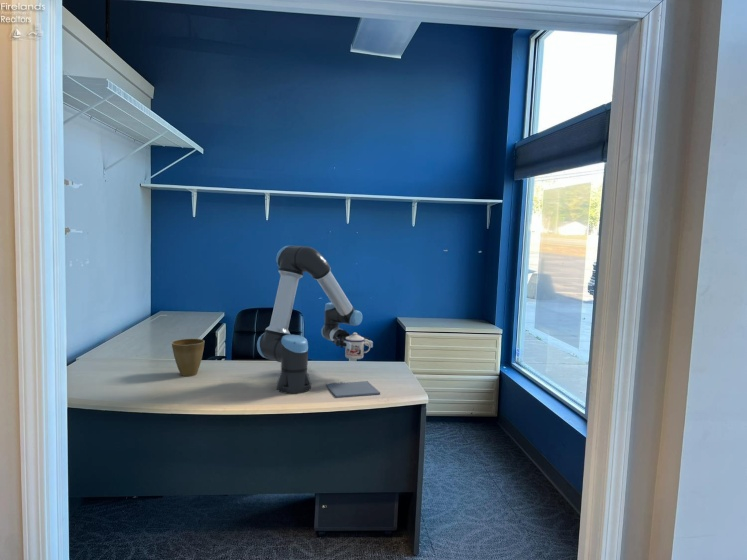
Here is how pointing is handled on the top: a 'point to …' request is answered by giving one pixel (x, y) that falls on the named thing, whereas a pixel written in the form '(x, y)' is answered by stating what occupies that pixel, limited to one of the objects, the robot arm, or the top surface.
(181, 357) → the plant pot
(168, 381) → the top surface
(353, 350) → the teacup with lid
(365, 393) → the charcoal mat
